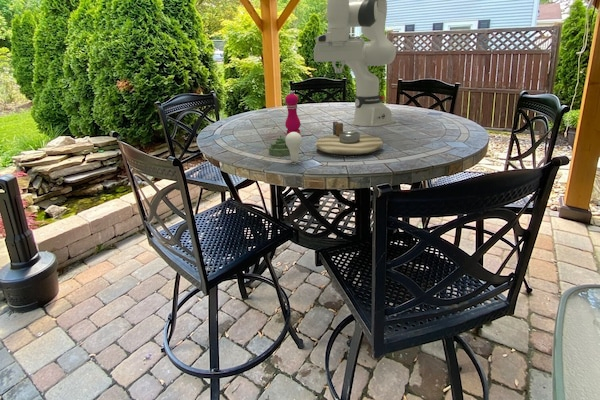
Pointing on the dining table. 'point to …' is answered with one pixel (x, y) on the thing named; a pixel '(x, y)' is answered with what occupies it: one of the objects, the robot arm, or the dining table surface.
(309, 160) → the dining table surface
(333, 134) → the pointer
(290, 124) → the pepper mill
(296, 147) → the lightbulb
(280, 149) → the decorative artifact
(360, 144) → the turntable
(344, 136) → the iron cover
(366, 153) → the turntable base
